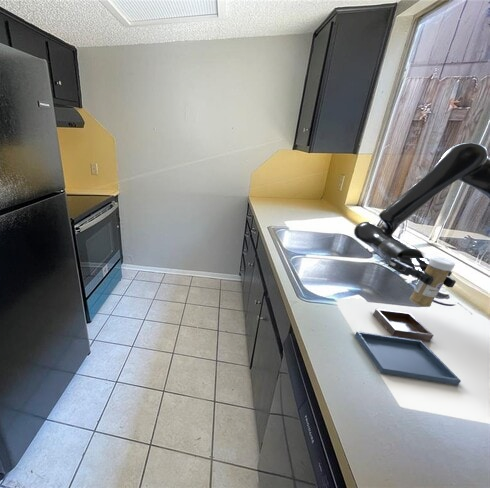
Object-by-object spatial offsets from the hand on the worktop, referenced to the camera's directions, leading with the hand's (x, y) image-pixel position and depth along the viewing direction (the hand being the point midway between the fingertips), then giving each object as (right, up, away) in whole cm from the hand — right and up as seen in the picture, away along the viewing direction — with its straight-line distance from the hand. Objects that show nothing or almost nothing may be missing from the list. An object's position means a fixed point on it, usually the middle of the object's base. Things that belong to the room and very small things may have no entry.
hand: (441, 283), depth 66 cm
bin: (+4, -17, +16) cm, 23 cm away
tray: (-7, -21, +4) cm, 23 cm away
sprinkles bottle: (0, -6, +6) cm, 9 cm away
